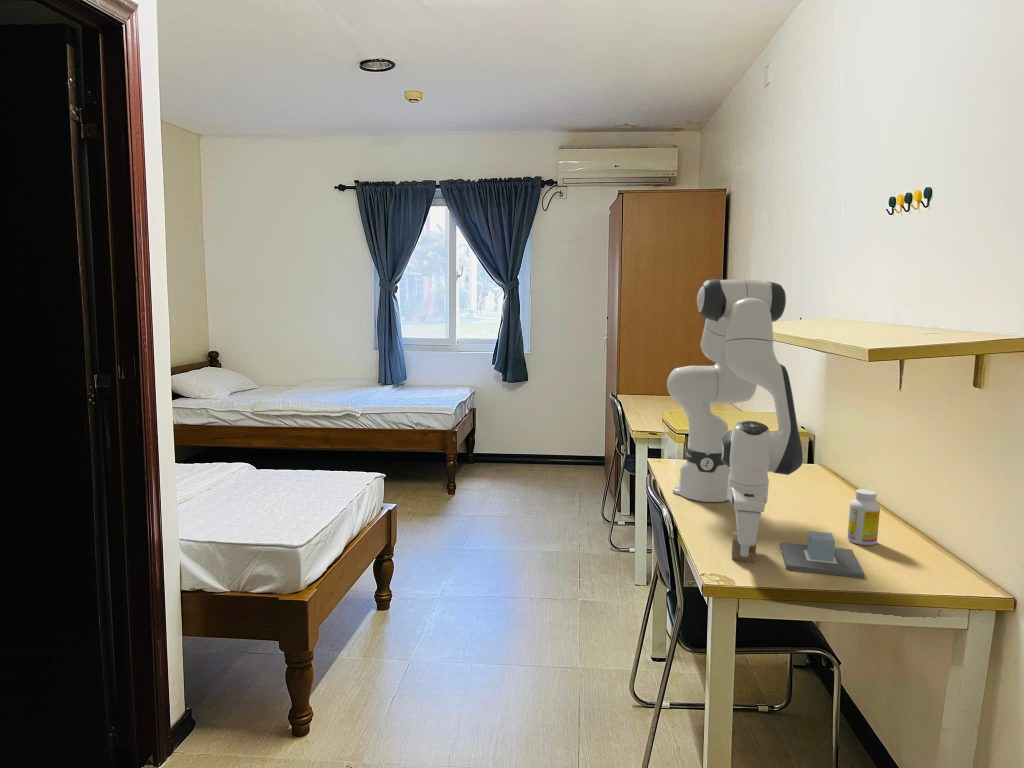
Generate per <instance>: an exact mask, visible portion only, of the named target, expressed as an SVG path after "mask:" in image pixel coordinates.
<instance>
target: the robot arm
mask: <svg viewBox="0 0 1024 768" xmlns="http://www.w3.org/2000/svg"><path fill="white" fill-rule="evenodd" d="M786 303H787V297H786V292H785V289H784V288H783V286H782V285H781V284H779V283H776V282H772V281H770V280H769V281H767V282H766V281H761V280H756V279H747V278H743V279H718V278H713V279H707V280H705V281H704V282H703V283H702V284H701V286H700V287H699V290H698V292H697V295H696V305H697V309H698V313H699V314H700V315H701V316H702V317H703V318H704V319H705V323H704V325H703V326H704V327H703V330H702V331H703V332H702V334H701V340H700V350H701V352H702V353H703V355H704V356H705V357H706V358H707V359H709V360H710V361H712V362H713V363H715V364H714V365H686V366H681V367H676V368H673V370H671V372H670V373H669V375H668V377H667V381H666V386H667V387H666V388H667V392H668V394H669V395H670V397H671V399H673V401H675V402H676V403H677V404H679V406H680V407H681V408H682V409H683V411H684V413H685V415H686V417H687V423H688V447H687V448H686V453H685V455H686V457H685V459H686V461H685V463H683V464H682V466H681V467H680V469H679V479H678V481H679V482H678V484H677V485H675V487H674V488H673V489H672V493H673V494H676V495H680V496H681V497H683V498H686V499H690V500H694V501H697V502H703V503H704V502H705V503H721V502H726V501H729V502H730V503H731V505H732V507H733V509H734V513H735V523H736V532H737V534H738V543H739V544H741V546H740V555H741V556H744V557H748V555H749V548H750V546H754V545H755V544H756V545H757V540H758V536H759V531H760V530H759V529H760V523H761V518H762V513H764V512H765V508H766V507H765V506H766V504H767V503H768V499H769V496H768V495H769V484H770V483H769V482H770V480H769V476H768V473H773V474H780V475H786V476H789V475H791V474H792V473H795V472H796V471H798V470H799V468H801V467H802V465H803V462H804V461H803V460H804V448H803V443H802V440H801V436H800V432H799V427H798V421H797V414H796V410H795V409H796V408H795V404H794V403H795V402H794V396H793V389H792V387H791V386H792V385H791V379H790V377H789V376H790V375H789V372H788V370H787V367H786V366H785V365H783V364H781V363H780V362H779V361H778V358H777V357H776V354H775V351H774V338H773V337H774V329H773V323H774V322H776V321H778V320H779V319H780V318H782V316H783V315H784V312H785V308H786ZM757 386H759V387H761V388H763V389H764V390H766V391H767V392H768V393H769V394H770V395H771V396H772V399H773V401H774V409H775V414H776V419H777V420H776V421H777V426H778V429H777V430H776V431H770V428H769V426H767V425H766V424H764V423H762V422H758V421H753V420H744V421H740V422H737V423H736V424H735V425H734V427H733V429H731V430H729V426H728V423H727V421H726V420H725V419H724V418H722V417H720V416H718V415H717V414H714V413H713V412H712V411H711V405H712V404H738V403H743V402H749V401H751V399H752V398H753V397H754V395H755V393H756V391H757Z"/></svg>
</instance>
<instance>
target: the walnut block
mask: <svg viewBox="0 0 1024 768" xmlns="http://www.w3.org/2000/svg"><path fill="white" fill-rule="evenodd" d="M740 546H741V544H739V543H738V534H737V531H732V540H731V560H732V561H738V562H748V563H756V551H757V543H756V544H755V545H754V546H750V548H749V555H748V557H744V556H741V555H740Z"/></svg>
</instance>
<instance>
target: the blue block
mask: <svg viewBox="0 0 1024 768" xmlns="http://www.w3.org/2000/svg"><path fill="white" fill-rule="evenodd" d="M807 533H808V534H807V535H808V536H807V544H806V545H807V553H808V556H809V558H810V559H813V560H821V561H830V562H833V561H834V550H835V548H836V539H835V537H834V535H833V533H832V532H824V531H816V530H815V531H813V530H808V532H807Z"/></svg>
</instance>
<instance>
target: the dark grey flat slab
mask: <svg viewBox="0 0 1024 768" xmlns="http://www.w3.org/2000/svg"><path fill="white" fill-rule="evenodd" d="M807 545H808V544H806V543H805V544H803V543H795V542H787V541H780V542H779V548H780V547H781V548H780V551H782V552H781V555H782V559H783V563H784V566H785V570H788V569H791V570H790V571H796V570H801V571H800V572H805V571H809V572H808V573H813V572H815V573H816V574H822V573H823V575H831V574H832V575H833V574H834V575H833V576H839V575H840V576H842V577H848V578H858V579H865V572H864V570H863V568H862V567H861V564H860V562H859V561H858V559H857V556H856V555H855V552H854V551H853V549H851V548H844V547H843V548H841V547H835V550H834V561H833V562H830V561H821V560H813V559H810V558H809V556H808V553H807ZM832 575H831V576H832ZM840 576H839V577H840Z"/></svg>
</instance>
